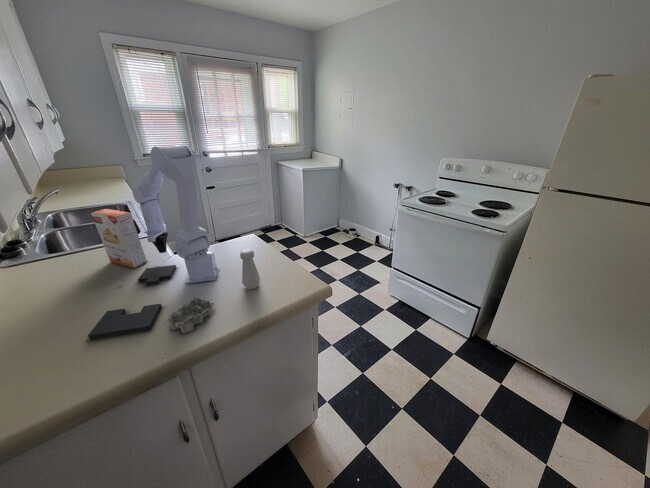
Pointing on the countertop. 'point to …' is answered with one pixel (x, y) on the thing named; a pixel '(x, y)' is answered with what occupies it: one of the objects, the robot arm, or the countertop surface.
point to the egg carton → (190, 314)
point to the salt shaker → (249, 270)
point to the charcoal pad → (125, 322)
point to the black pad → (157, 274)
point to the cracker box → (119, 237)
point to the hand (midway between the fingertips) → (163, 252)
